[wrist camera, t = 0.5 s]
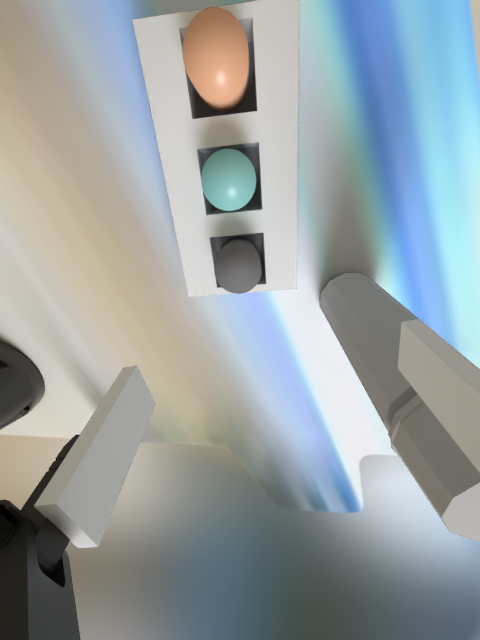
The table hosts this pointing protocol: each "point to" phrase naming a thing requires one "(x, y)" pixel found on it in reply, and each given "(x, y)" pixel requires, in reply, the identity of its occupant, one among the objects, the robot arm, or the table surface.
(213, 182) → the button teal
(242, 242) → the button charcoal
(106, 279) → the table surface
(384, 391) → the water bottle
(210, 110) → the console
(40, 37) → the table surface
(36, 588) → the robot arm
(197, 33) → the button terracotta
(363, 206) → the table surface
